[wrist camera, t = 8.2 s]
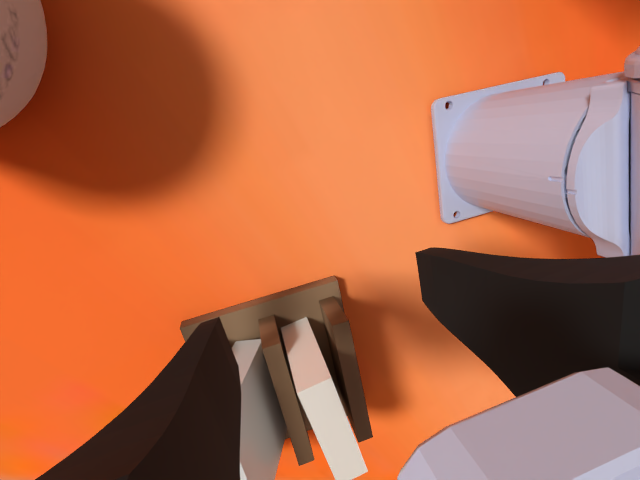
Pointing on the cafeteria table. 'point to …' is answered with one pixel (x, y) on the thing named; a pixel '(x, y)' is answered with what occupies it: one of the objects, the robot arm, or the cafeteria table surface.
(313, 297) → the rack
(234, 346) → the racked plate
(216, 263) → the cafeteria table surface
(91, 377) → the cafeteria table surface
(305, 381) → the white upright slab
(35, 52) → the teacup
